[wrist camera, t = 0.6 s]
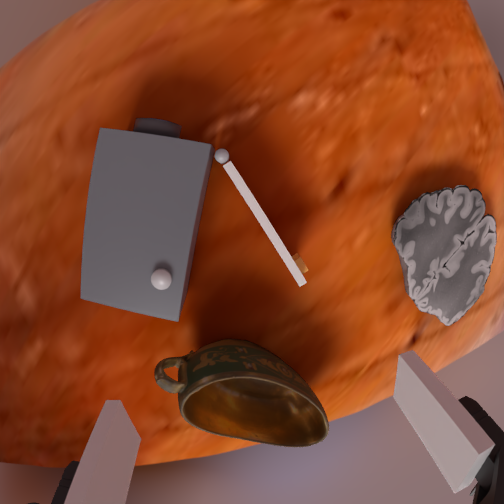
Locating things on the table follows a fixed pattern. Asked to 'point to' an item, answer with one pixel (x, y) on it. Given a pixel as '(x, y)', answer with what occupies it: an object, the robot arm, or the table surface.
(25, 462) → the table surface
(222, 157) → the door
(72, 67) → the table surface
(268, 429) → the cup
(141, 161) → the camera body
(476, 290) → the brain slice
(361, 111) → the table surface
